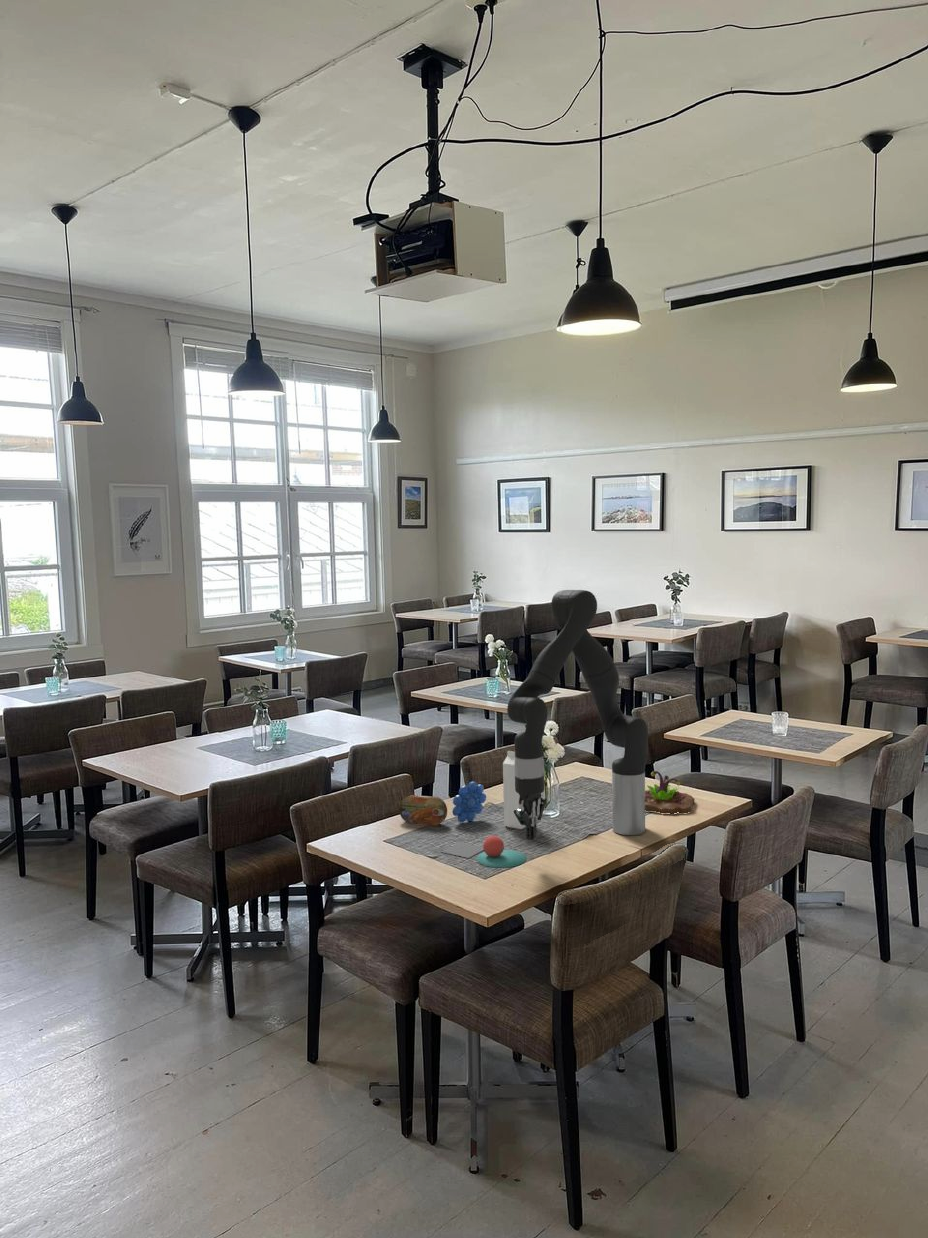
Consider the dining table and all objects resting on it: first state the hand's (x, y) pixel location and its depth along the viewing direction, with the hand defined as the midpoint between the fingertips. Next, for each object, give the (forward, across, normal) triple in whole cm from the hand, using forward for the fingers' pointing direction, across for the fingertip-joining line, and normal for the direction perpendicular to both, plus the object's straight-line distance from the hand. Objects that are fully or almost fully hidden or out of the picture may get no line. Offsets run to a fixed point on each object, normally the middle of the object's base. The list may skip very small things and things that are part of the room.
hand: (531, 839), depth 224 cm
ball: (+4, 0, -12) cm, 12 cm away
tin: (+7, -13, -45) cm, 47 cm away
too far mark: (+7, 0, -21) cm, 22 cm away
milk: (+7, -26, -20) cm, 33 cm away
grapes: (+7, -22, -35) cm, 42 cm away
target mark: (+7, 0, -9) cm, 11 cm away
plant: (+9, -66, +8) cm, 67 cm away
